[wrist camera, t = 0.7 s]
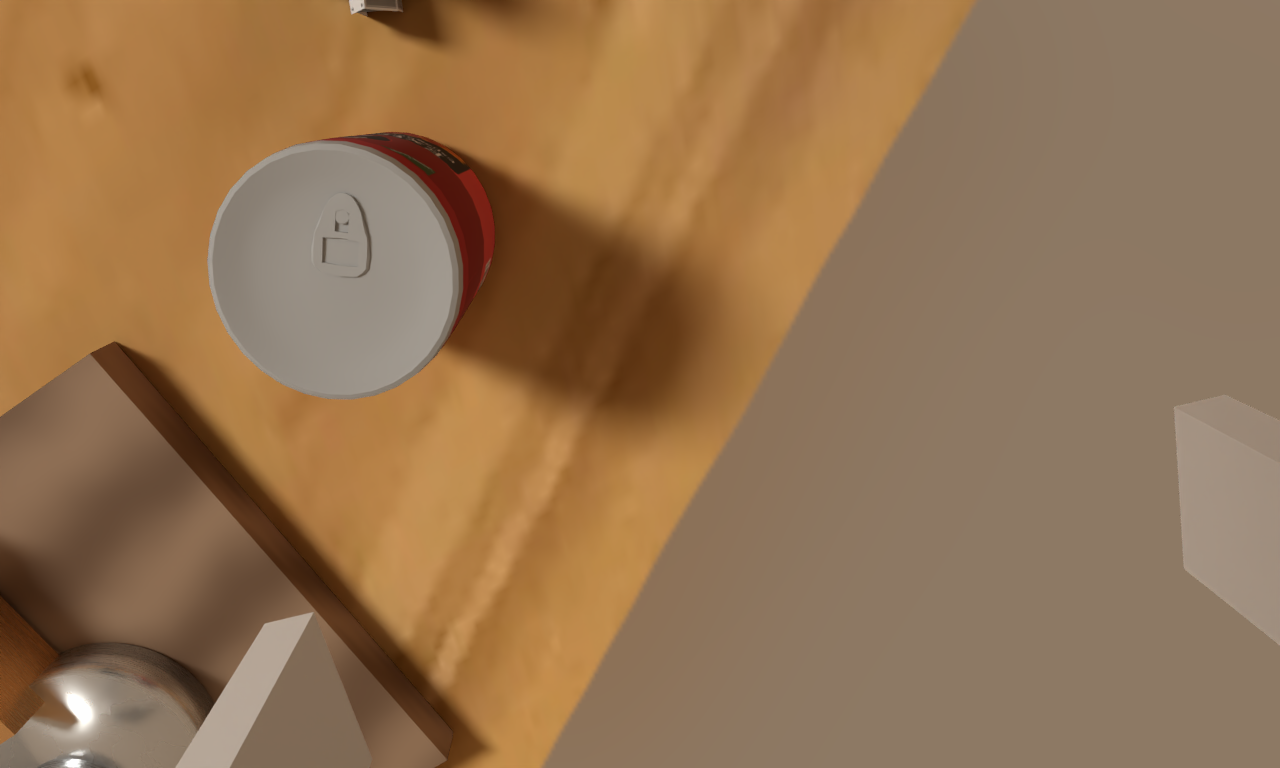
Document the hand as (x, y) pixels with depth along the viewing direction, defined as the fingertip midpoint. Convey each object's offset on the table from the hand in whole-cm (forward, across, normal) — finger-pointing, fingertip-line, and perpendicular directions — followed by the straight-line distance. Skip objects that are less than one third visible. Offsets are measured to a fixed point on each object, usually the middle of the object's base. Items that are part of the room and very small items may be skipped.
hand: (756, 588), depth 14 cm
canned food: (+27, -10, +4) cm, 29 cm away
